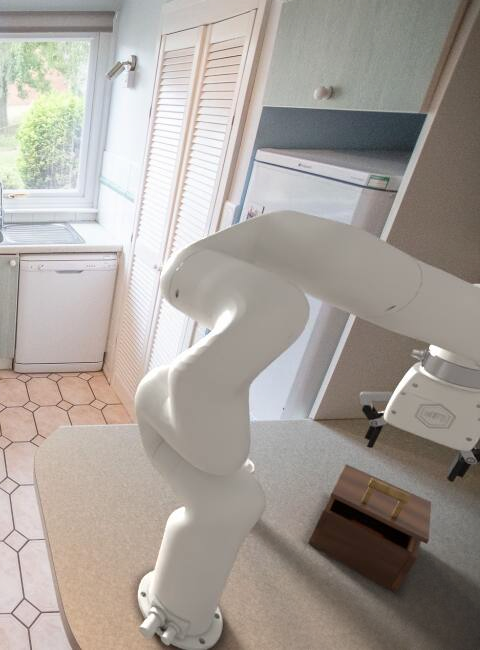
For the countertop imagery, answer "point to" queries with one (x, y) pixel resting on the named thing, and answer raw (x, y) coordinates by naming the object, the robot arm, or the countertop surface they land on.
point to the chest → (365, 544)
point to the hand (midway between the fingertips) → (408, 459)
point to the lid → (384, 502)
